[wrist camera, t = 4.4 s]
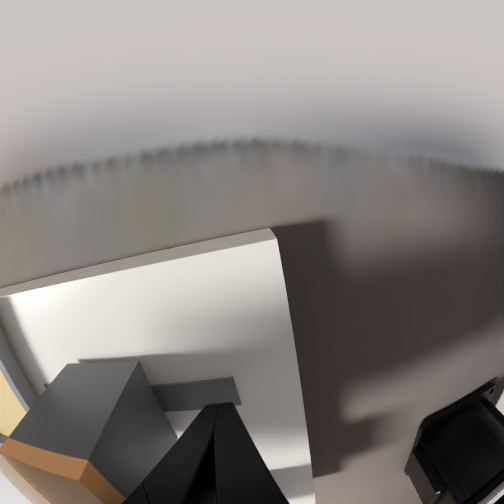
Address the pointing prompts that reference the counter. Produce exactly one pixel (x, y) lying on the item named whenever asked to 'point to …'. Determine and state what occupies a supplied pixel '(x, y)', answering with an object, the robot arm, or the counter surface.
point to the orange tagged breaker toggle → (91, 434)
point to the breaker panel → (172, 340)
